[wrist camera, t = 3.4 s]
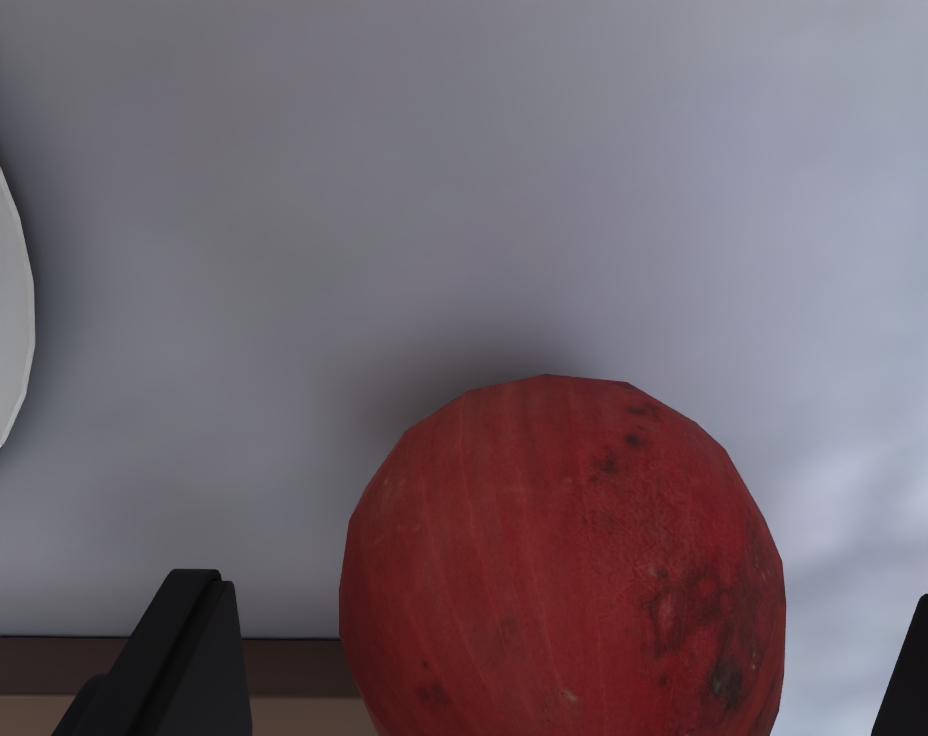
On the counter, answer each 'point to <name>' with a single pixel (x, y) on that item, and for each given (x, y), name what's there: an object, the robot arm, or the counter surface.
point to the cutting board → (267, 671)
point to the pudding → (14, 313)
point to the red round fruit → (562, 573)
